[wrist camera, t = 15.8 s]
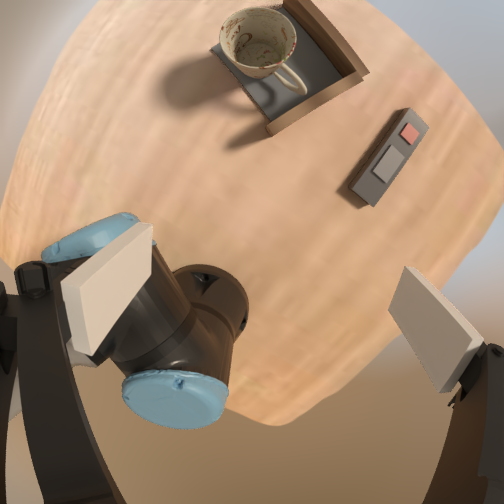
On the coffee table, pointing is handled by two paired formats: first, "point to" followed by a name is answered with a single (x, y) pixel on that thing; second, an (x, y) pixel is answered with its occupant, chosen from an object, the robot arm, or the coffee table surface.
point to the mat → (301, 62)
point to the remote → (389, 157)
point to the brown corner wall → (336, 52)
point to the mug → (261, 44)
